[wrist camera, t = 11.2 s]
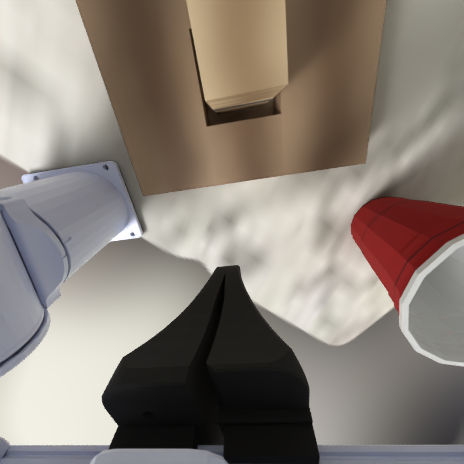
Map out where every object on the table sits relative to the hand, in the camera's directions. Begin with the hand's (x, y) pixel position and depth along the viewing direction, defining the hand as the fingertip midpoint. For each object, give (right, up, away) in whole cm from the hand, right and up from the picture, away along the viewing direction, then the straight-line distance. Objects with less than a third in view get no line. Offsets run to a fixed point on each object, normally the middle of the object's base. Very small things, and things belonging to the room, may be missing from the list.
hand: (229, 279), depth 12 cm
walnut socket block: (+1, +15, +4) cm, 15 cm away
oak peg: (+1, +15, +4) cm, 15 cm away
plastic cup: (+16, +4, +10) cm, 19 cm away
